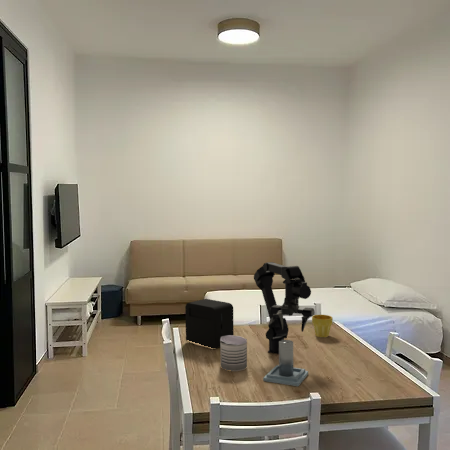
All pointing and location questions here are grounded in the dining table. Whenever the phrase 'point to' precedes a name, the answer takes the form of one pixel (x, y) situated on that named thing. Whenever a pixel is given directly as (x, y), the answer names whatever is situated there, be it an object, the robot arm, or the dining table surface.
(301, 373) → the plate
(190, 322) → the air purifier
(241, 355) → the can
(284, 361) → the grey shiny round cylinder
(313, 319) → the plant pot
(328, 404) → the dining table surface
